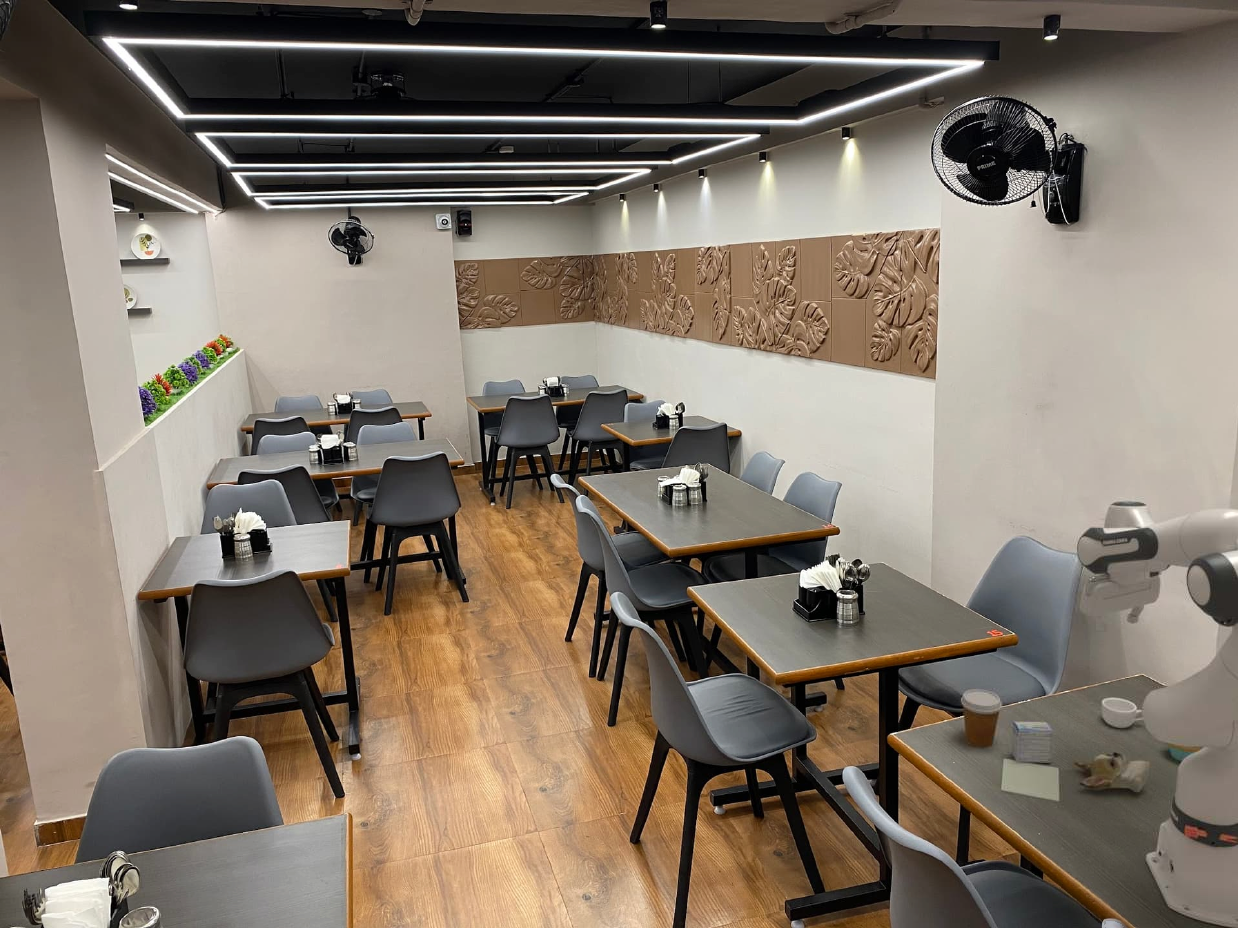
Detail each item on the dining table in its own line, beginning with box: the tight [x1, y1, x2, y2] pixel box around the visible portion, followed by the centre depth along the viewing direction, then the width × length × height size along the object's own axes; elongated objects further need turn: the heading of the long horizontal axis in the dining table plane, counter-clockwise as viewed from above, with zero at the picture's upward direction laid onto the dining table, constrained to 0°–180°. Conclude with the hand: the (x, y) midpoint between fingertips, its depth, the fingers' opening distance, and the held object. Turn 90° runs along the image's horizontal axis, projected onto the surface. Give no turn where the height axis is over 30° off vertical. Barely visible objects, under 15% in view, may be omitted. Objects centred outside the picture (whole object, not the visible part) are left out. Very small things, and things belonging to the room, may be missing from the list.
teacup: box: [1101, 697, 1143, 729], centre depth 230 cm, size 10×8×5 cm
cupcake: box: [1164, 742, 1204, 762], centre depth 214 cm, size 9×8×12 cm
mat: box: [1000, 758, 1060, 803], centre depth 209 cm, size 14×12×1 cm
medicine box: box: [1011, 721, 1054, 764], centre depth 216 cm, size 8×4×9 cm, turn 84°
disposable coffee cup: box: [960, 688, 1003, 748], centre depth 225 cm, size 10×10×12 cm
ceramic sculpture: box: [1073, 751, 1151, 793], centre depth 205 cm, size 11×9×15 cm
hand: (1117, 626), depth 206 cm, fingers open, 8 cm apart
